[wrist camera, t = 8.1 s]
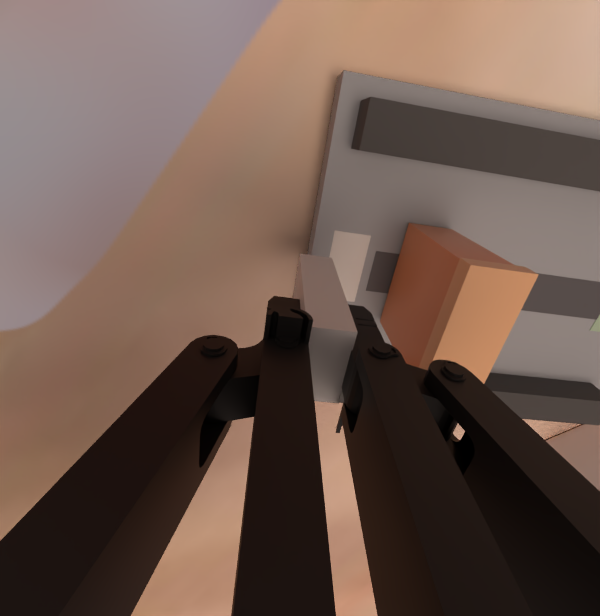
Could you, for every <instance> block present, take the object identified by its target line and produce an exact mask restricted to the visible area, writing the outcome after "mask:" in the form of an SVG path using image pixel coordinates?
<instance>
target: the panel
mask: <svg viewBox="0 0 600 616" xmlns="http://www.w3.org/2000/svg"><path fill="white" fill-rule="evenodd" d="M368 97H376V98H381V99H386V100H392V101H397V102H402V103H407V104H413V105H418V106H423V107H429V108H434V109H439V110H444V111H450V112H455V113H460V114H466V115H471V116H476V117H481V118H487V119H492V120H497V121H503V122H508V123H513V124H518V125H524V126H529V127H534V128H540V129H545V130H550V131H555V132H561V133H566V134H571V135H577V136H582V137H587V138H592V139H598V140H600V120H595V119H590V118H585V117H579V116H574V115H569V114H564V113H559V112H554V111H549V110H544V109H539V108H534V107H528V106H523V105H518V104H513V103H508V102H503V101H498V100H493V99H488V98H483V97H478V96H472V95H467V94H462V93H457V92H452V91H447V90H442V89H437V88H432V87H427V86H421V85H416V84H411V83H406V82H401V81H396V80H391V79H386V78H381V77H376V76H370V75H365V74H360V73H355V72H350V71H345V70H344V71H343V72H342V73H341V74H340V75H339V76H338V77H337V83H336V88H335V94H334V100H333V106H332V112H331V118H330V124H329V130H328V136H327V141H326V147H325V153H324V159H323V165H322V171H321V177H320V183H319V189H318V194H317V200H316V206H315V212H314V218H313V224H312V230H311V236H310V242H309V247H308V253H307V255H315V256H322V257H329V258H332V259H333V262H334V265H335V268H336V271H337V274H338V277H339V280H340V283H341V286H342V288H343V291H344V294H345V297H346V300H347V303H348V304H349V305H357V306H364V307H365V308H366V309H367V310H368V311H370V312H371V313H372V315H373V318H374V320H375V322H376V324H377V327H378V329H379V331H380V333H381V335H382V337H383V339H384V342H385V343H388V344H390V345H392V344H391V342H390V340H389V338H388V336H387V334H386V332H385V330H384V328H383V327H382V325H381V323H380V319H381V316H382V312H383V309H384V305H385V302H386V299H387V295H388V292H389V288H390V285H391V282H392V278H393V275H394V272H395V268H396V265H397V261H398V258H399V255H400V251H401V248H402V244H403V241H404V238H405V234H406V231H407V228H408V224H409V223H414V224H421V225H428V226H434V227H441V228H448V229H452V230H454V231H456V232H458V233H459V234H461V235H463V236H465V237H466V238H468V239H470V240H472V241H473V242H475V243H477V244H479V245H480V246H482V247H484V248H486V249H487V250H489V251H491V252H493V253H494V254H496V255H498V256H500V257H501V258H503V259H505V260H507V261H508V262H510V263H512V264H514V265H516V266H524V267H526V268H528V269H530V270H532V271H533V272H535V273H537V274H539V275H538V277H537V279H536V281H535V283H534V285H533V287H532V289H531V291H530V293H529V295H528V297H527V299H526V301H525V303H524V305H523V307H522V309H521V311H520V313H519V315H518V317H517V319H516V321H515V323H514V325H513V327H512V329H511V331H510V333H509V335H508V337H507V339H506V341H505V343H504V345H503V347H502V349H501V351H500V353H499V355H498V357H497V359H496V361H495V363H494V365H493V367H492V369H491V371H490V372H491V373H500V374H510V375H520V376H529V377H539V378H549V379H558V380H568V381H578V382H587V383H592V384H593V385H594V386H596V387H597V388H598V389H599V390H600V192H599V191H593V190H588V189H582V188H576V187H570V186H564V185H558V184H552V183H547V182H541V181H535V180H529V179H523V178H517V177H512V176H506V175H500V174H494V173H488V172H482V171H476V170H471V169H465V168H459V167H453V166H447V165H441V164H436V163H430V162H424V161H418V160H412V159H406V158H400V157H395V156H389V155H383V154H377V153H371V152H365V151H360V150H355V149H351V146H352V141H353V136H354V132H355V127H356V122H357V117H358V112H359V107H360V102H361V100H363V99H366V98H368Z"/></svg>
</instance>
